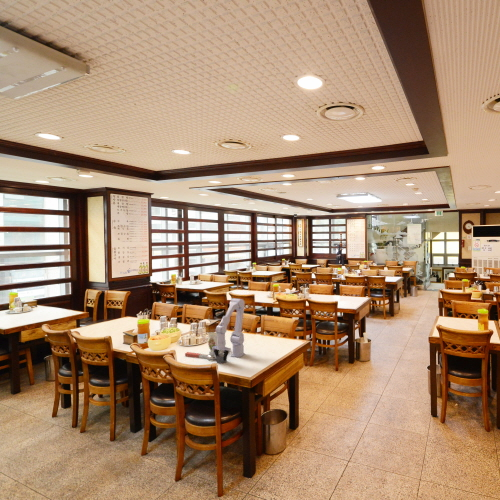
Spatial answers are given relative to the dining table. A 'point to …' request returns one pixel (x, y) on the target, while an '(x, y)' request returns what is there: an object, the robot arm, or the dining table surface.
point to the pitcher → (212, 339)
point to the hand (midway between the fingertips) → (221, 360)
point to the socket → (220, 358)
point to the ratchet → (202, 355)
